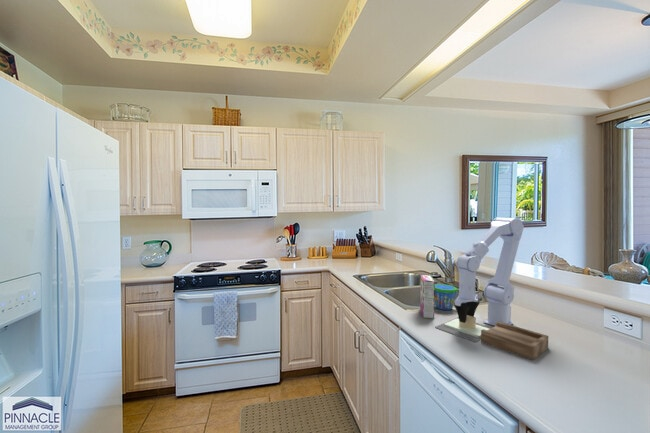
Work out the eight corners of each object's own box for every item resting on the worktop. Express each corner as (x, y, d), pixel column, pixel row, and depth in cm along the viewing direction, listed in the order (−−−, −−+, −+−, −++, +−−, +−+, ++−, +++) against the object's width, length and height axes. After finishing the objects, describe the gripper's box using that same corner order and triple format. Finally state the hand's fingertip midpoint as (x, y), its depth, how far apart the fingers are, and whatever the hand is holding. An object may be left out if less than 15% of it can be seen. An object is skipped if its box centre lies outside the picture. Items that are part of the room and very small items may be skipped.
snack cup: (458, 305, 147) (458, 284, 147) (464, 312, 137) (465, 290, 136) (424, 303, 150) (425, 283, 149) (428, 310, 139) (429, 288, 139)
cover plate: (456, 320, 127) (457, 309, 126) (491, 331, 115) (492, 319, 115) (443, 325, 120) (443, 313, 120) (479, 338, 109) (479, 325, 109)
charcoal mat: (458, 317, 130) (458, 317, 130) (497, 330, 117) (497, 329, 117) (434, 327, 119) (434, 326, 119) (475, 342, 106) (475, 341, 106)
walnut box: (498, 332, 115) (498, 321, 115) (548, 347, 103) (548, 335, 103) (480, 341, 107) (481, 330, 107) (532, 360, 94) (533, 347, 94)
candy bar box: (419, 309, 141) (420, 274, 140) (430, 310, 140) (431, 275, 139) (422, 318, 130) (423, 280, 129) (434, 319, 129) (435, 281, 128)
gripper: (467, 291, 110) (466, 328, 111) (486, 285, 119) (485, 319, 119) (449, 287, 116) (448, 322, 116) (468, 281, 125) (467, 314, 125)
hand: (466, 320), depth 118 cm, fingers open, 5 cm apart
